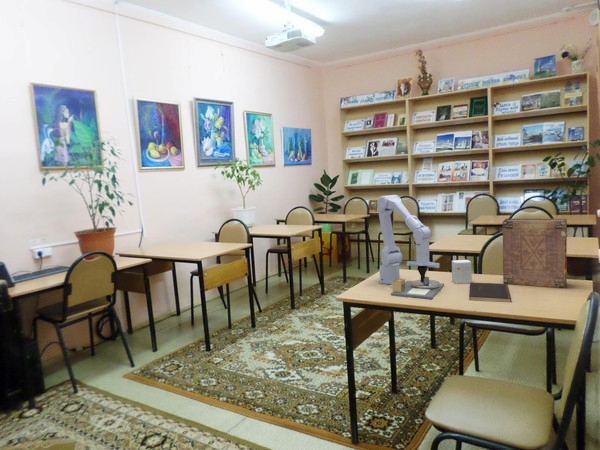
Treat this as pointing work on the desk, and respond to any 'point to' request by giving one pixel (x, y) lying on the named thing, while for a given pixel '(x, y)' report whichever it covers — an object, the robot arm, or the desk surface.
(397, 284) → the link block
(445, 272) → the desk surface
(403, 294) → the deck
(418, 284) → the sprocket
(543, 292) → the desk surface
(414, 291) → the pad
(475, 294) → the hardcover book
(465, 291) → the desk surface
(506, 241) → the book
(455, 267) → the small box
